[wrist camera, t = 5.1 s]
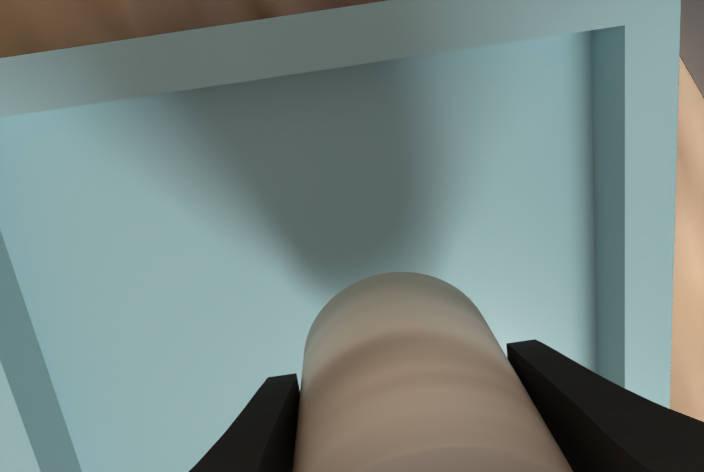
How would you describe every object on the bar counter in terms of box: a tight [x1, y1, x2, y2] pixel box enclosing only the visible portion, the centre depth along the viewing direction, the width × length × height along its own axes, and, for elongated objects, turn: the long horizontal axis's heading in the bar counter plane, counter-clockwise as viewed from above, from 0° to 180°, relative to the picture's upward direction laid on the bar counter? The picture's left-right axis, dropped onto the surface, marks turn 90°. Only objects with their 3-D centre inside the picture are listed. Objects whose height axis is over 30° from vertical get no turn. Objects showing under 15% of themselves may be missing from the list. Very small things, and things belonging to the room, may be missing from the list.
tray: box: [0, 0, 681, 472], centre depth 16 cm, size 16×18×2 cm
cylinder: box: [292, 272, 573, 472], centre depth 11 cm, size 4×4×6 cm
